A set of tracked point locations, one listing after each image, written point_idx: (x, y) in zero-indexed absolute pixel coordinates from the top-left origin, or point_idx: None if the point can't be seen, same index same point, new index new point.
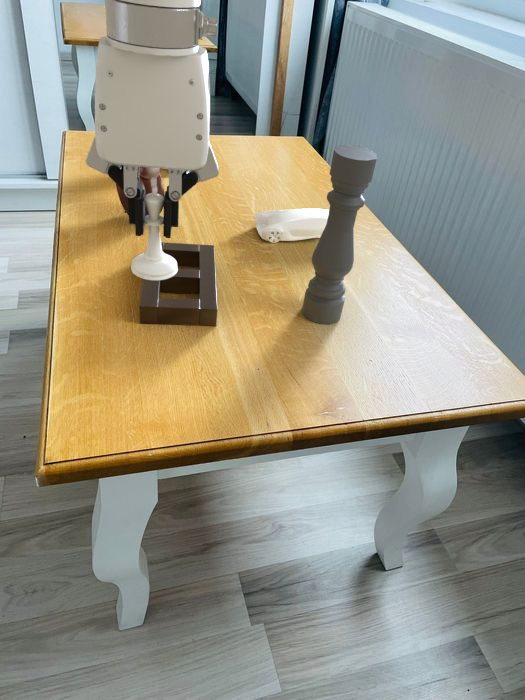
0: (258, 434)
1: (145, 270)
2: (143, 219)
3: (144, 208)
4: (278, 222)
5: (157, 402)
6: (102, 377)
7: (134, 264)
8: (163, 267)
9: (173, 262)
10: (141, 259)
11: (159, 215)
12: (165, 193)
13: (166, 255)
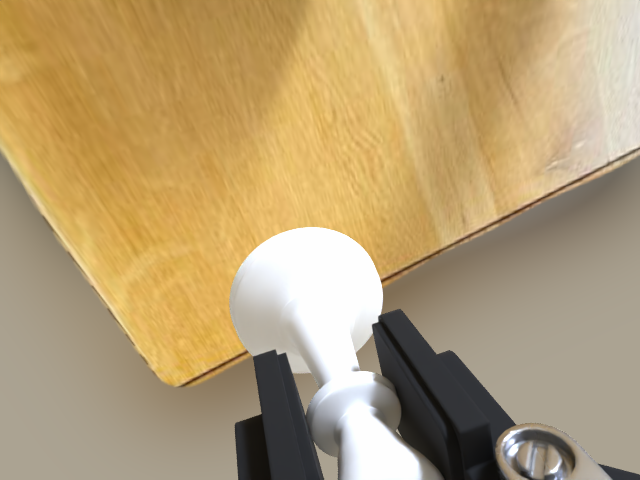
0: (450, 245)
1: (302, 371)
2: (315, 452)
3: (307, 429)
4: None
5: (279, 230)
6: (153, 200)
7: (255, 352)
8: (353, 341)
9: (372, 293)
10: (272, 334)
11: (382, 416)
12: (455, 475)
13: (342, 270)
